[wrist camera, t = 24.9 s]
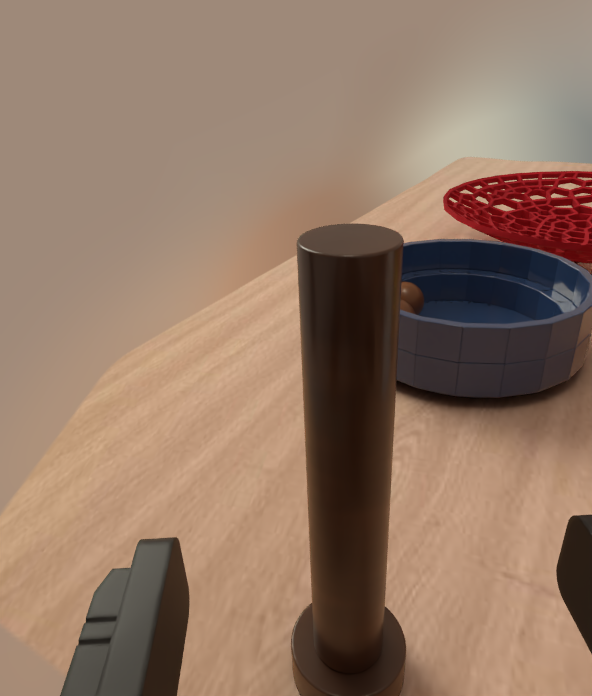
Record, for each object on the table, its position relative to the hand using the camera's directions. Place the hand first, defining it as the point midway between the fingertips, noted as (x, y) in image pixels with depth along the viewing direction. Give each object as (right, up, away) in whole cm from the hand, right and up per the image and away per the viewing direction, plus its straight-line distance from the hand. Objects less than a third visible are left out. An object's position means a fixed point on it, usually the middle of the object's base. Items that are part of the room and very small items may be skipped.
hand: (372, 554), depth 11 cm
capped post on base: (0, -7, +9) cm, 11 cm away
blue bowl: (+11, +5, +29) cm, 32 cm away
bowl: (+28, +14, +46) cm, 56 cm away
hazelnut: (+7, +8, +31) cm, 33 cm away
